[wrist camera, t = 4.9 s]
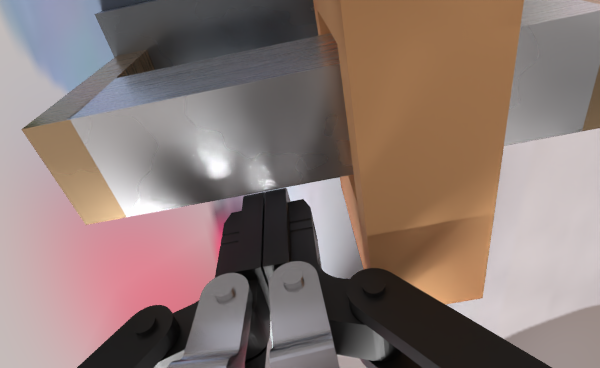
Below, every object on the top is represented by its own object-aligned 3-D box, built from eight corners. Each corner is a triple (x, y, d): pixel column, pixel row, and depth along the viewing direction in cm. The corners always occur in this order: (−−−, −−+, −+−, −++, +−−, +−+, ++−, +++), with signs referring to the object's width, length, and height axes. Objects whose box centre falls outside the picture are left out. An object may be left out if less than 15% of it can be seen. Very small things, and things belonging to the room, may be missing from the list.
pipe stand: (512, -80, 13) (715, -92, 7) (494, 85, 16) (620, 172, 10) (101, 11, 14) (-31, 69, 8) (164, 151, 17) (105, 266, 11)
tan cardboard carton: (403, -144, 10) (557, -237, 5) (410, 173, 16) (482, 298, 10) (294, -119, 10) (320, -179, 5) (341, 185, 16) (376, 315, 11)
